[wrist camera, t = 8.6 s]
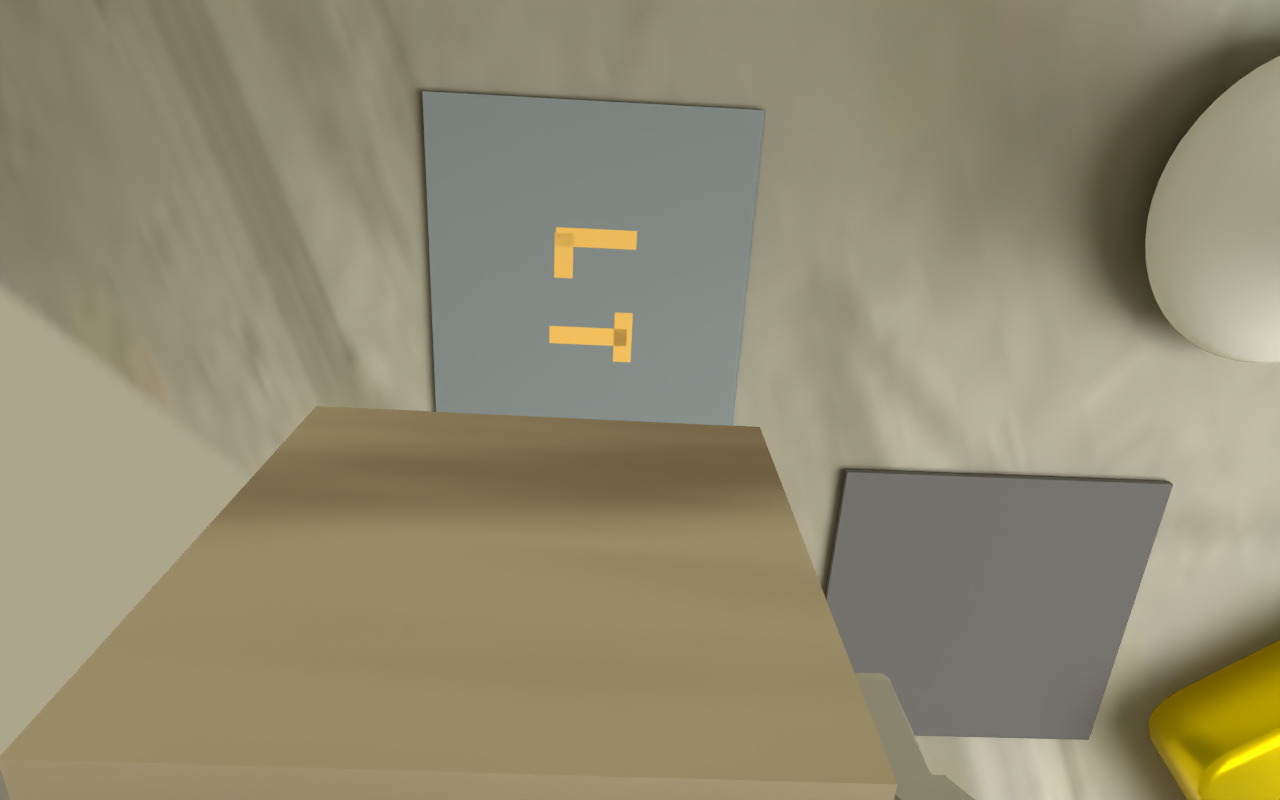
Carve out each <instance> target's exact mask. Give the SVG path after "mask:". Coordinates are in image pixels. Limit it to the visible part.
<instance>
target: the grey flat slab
mask: <svg viewBox="0 0 1280 800" xmlns="http://www.w3.org/2000/svg"><path fill="white" fill-rule="evenodd" d="M422 94H423V118H424V141H425V164H426V188H427V211H428V234H429V258H430V281H431V304H432V328H433V351H434V375H435V398H436V412H452V413H473V414H494V415H515V416H536V417H557V418H578V419H599V420H621V421H642V422H663V423H684V424H705V425H726V426H733V417H734V407H735V398H736V388H737V378H738V369H739V359H740V349H741V340H742V330H743V320H744V311H745V301H746V291H747V282H748V272H749V262H750V253H751V243H752V233H753V224H754V214H755V204H756V195H757V185H758V175H759V166H760V156H761V146H762V137H763V127H764V117H765V110H752V109H734V108H717V107H699V106H681V105H663V104H645V103H627V102H609V101H591V100H573V99H555V98H538V97H520V96H502V95H484V94H466V93H448V92H430V91H422Z"/></svg>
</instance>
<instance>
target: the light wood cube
mask: <svg viewBox="0 0 1280 800" xmlns="http://www.w3.org/2000/svg"><path fill="white" fill-rule="evenodd" d="M0 769H1V772H2V775H3V778H4V781H5V785H6V788H7V791H8V794H9V797H10V800H894V797H895V793H896V789H897V782H896V779H895V777H894V774H893V772H892V769H891V766H890V764H889V761H888V759H887V756H886V753H885V751H884V748H883V746H882V743H881V740H880V738H879V735H878V733H877V730H876V728H875V725H874V722H873V720H872V717H871V715H870V712H869V709H868V707H867V704H866V702H865V699H864V696H863V694H862V691H861V689H860V686H859V683H858V681H857V678H856V676H855V673H854V671H853V668H852V665H851V663H850V660H849V658H848V655H847V652H846V650H845V647H844V645H843V642H842V639H841V637H840V634H839V632H838V629H837V626H836V624H835V621H834V619H833V616H832V613H831V611H830V608H829V606H828V603H827V601H826V598H825V595H824V593H823V590H822V588H821V585H820V582H819V580H818V577H817V575H816V572H815V569H814V567H813V564H812V562H811V559H810V556H809V554H808V551H807V549H806V546H805V544H804V541H803V538H802V536H801V533H800V531H799V528H798V525H797V523H796V520H795V518H794V515H793V512H792V510H791V507H790V505H789V502H788V499H787V497H786V494H785V492H784V489H783V487H782V484H781V481H780V479H779V476H778V474H777V471H776V468H775V466H774V463H773V461H772V458H771V455H770V453H769V450H768V448H767V445H766V442H765V440H764V437H763V435H762V432H761V430H760V427H747V426H726V425H705V424H684V423H663V422H642V421H621V420H599V419H578V418H557V417H536V416H515V415H494V414H473V413H452V412H430V411H409V410H388V409H367V408H346V407H325V406H316V407H315V408H314V410H313V411H312V412H311V413H310V414H309V415H308V416H307V417H306V418H305V420H304V421H303V422H302V423H301V424H300V425H299V426H298V427H297V428H296V429H295V431H294V432H293V433H292V434H291V435H290V436H289V437H288V438H287V439H286V441H285V442H284V443H283V444H282V445H281V446H280V447H279V448H278V449H277V450H276V452H275V453H274V454H273V455H272V456H271V457H270V458H269V459H268V460H267V462H266V463H265V464H264V465H263V466H262V467H261V468H260V469H259V470H258V471H257V473H256V474H255V475H254V476H253V477H252V478H251V479H250V480H249V481H248V483H247V484H246V485H245V486H244V487H243V488H242V489H241V490H240V491H239V492H238V494H237V495H236V496H235V497H234V498H233V499H232V501H230V502H229V504H228V505H227V506H226V507H225V508H224V509H223V510H222V511H221V513H219V515H218V516H217V517H216V518H215V519H214V520H213V521H212V522H211V523H210V525H209V526H208V527H207V528H206V529H205V530H204V531H203V532H202V534H201V535H200V536H199V537H198V538H197V539H196V540H195V541H194V542H193V543H192V544H191V546H190V547H189V548H188V549H187V550H186V551H185V552H184V553H183V554H182V556H181V557H180V558H179V559H178V560H177V561H176V562H175V563H174V564H173V565H172V567H171V568H170V569H169V570H168V571H167V572H166V573H165V574H164V575H163V577H162V578H161V579H160V580H159V581H158V582H157V583H156V584H155V585H154V586H153V588H152V589H151V590H150V591H149V592H148V593H147V594H146V595H145V597H144V598H143V599H142V600H141V601H140V602H139V603H138V604H137V605H136V606H135V607H134V609H133V610H132V611H131V612H130V613H129V614H128V615H127V616H126V618H125V619H124V620H123V621H122V622H121V623H120V624H119V625H118V626H117V627H116V629H115V630H114V631H113V632H112V633H111V634H110V635H109V636H108V637H107V639H106V640H105V641H104V642H103V643H102V644H101V645H100V646H99V647H98V649H97V650H96V651H95V652H94V653H93V654H92V655H91V656H90V657H89V658H88V659H87V661H86V662H85V663H84V664H83V665H82V666H81V667H80V668H79V669H78V671H77V672H76V673H75V674H74V675H73V676H72V677H71V678H70V679H69V680H68V682H67V683H66V684H65V685H64V686H63V687H62V688H61V689H60V690H59V692H58V693H57V694H56V695H55V696H54V697H53V698H52V699H51V700H50V701H49V703H48V704H47V705H46V706H45V707H44V708H43V709H42V710H41V711H40V713H39V714H38V715H37V716H36V717H35V718H34V719H33V720H32V721H31V723H30V724H29V725H28V726H27V727H26V728H25V729H24V730H23V731H22V732H21V734H20V735H19V736H18V737H17V738H16V739H15V741H13V742H12V744H11V745H10V746H9V747H8V748H7V749H6V750H5V751H4V752H3V754H2V755H1V756H0Z"/></svg>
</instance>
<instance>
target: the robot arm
mask: <svg viewBox="0 0 1280 800" xmlns="http://www.w3.org/2000/svg"><path fill="white" fill-rule="evenodd" d="M855 676H856V678H857V681H858V683H859V686H860V689H861V691H862V694H863V696H864V699H865V702H866V704H867V707H868V709H869V712H870V715H871V717H872V720H873V722H874V725H875V728H876V730H877V733H878V735H879V738H880V740H881V743H882V746H883V748H884V751H885V753H886V756H887V759H888V761H889V764H890V766H891V769H892V772H893V774H894V777H895V779H896V782H897V789H896V793H895V797H894V800H975V799H973V798H972V797H971V796H969V795H968V794H967V793H966V792H964V791H963V790H962V789H961V788H959V787H958V786H957V785H956V784H954V783H953V782H952V781H951V780H949V779H948V778H947V777H946V776H944V775H932V773H931V771H930V769H929V767H928V764H927V762H926V760H925V758H924V755H923V753H922V751H921V749H920V747H919V744H918V742H917V740H916V738H915V735H914V733H913V731H912V729H911V726H910V724H909V722H908V720H907V718H906V715H905V713H904V711H903V709H902V706H901V704H900V702H899V700H898V698H897V695H896V693H895V691H894V689H893V686H892V684H891V682H890V680H889V678H888V677H887V676H885V675H884V674H883V673H855ZM0 800H10V797H9V794H8V791H7V788H6V785H5V781H4V778H3V775H2V772H1V769H0Z"/></svg>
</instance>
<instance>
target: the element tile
mask: <svg viewBox="0 0 1280 800" xmlns="http://www.w3.org/2000/svg"><path fill="white" fill-rule="evenodd" d="M1149 735H1150V738H1151V741H1152V743H1153V744H1154V746H1155V748H1156V749H1157V751H1158V752H1159V754H1160V756H1161V757H1162V759H1163V761H1164V762H1165V764H1166V766H1167V767H1168V769H1169V771H1170V772H1171V774H1172V776H1173V777H1174V779H1175V781H1176V782H1177V784H1178V786H1179V787H1180V789H1181V790H1182V792H1183V794H1184V795H1185V797H1186V799H1187V800H1280V640H1279V641H1277V642H1275V643H1273V644H1271V645H1269V646H1267V647H1265V648H1263V649H1261V650H1259V651H1257V652H1255V653H1253V654H1251V655H1249V656H1247V657H1245V658H1243V659H1241V660H1239V661H1237V662H1235V663H1233V664H1231V665H1229V666H1227V667H1225V668H1223V669H1221V670H1219V671H1217V672H1215V673H1213V674H1211V675H1209V676H1207V677H1205V678H1203V679H1201V680H1199V681H1197V682H1195V683H1193V684H1191V685H1189V686H1187V687H1185V688H1183V689H1181V690H1179V691H1177V692H1175V693H1174V694H1172V695H1171V696H1169V697H1168V698H1166V699H1165V700H1164V701H1163V702H1162V703H1161V704H1160V705H1159V706H1157V707H1156V708H1155V709H1154V711H1153V713H1152V715H1151V717H1150V719H1149Z"/></svg>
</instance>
